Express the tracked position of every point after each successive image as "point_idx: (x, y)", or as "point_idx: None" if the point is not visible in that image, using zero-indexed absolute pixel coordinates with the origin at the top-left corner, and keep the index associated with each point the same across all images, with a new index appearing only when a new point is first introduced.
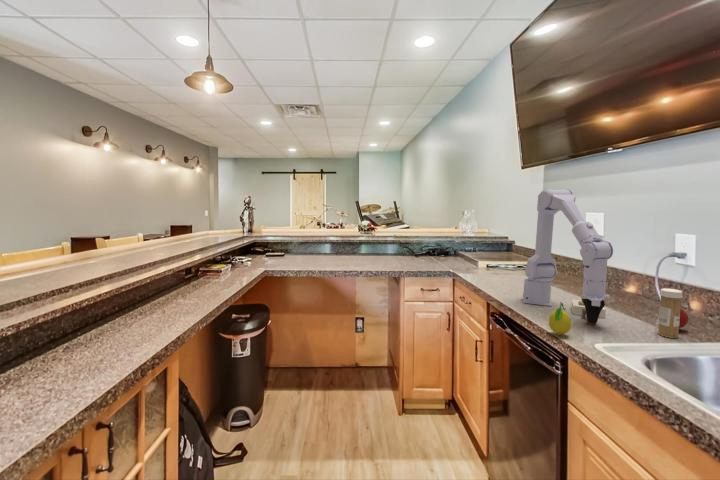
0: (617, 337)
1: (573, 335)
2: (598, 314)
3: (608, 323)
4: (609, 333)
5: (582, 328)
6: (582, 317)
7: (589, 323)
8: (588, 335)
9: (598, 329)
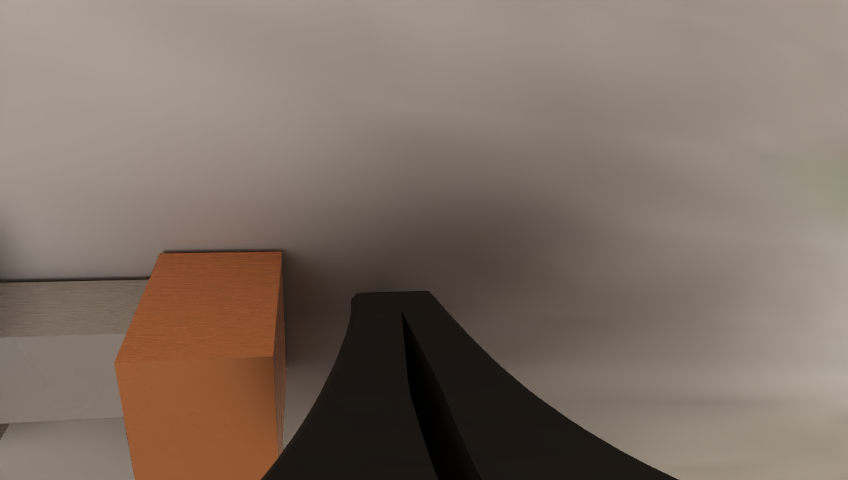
0: (836, 26)
1: (841, 475)
2: (530, 398)
3: (35, 34)
4: (674, 111)
5: (560, 408)
6: (4, 424)
7: (283, 336)
8: (816, 356)
9: (526, 237)
